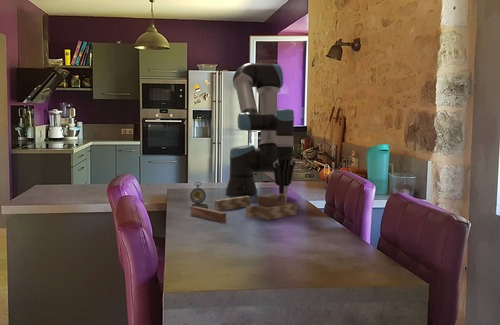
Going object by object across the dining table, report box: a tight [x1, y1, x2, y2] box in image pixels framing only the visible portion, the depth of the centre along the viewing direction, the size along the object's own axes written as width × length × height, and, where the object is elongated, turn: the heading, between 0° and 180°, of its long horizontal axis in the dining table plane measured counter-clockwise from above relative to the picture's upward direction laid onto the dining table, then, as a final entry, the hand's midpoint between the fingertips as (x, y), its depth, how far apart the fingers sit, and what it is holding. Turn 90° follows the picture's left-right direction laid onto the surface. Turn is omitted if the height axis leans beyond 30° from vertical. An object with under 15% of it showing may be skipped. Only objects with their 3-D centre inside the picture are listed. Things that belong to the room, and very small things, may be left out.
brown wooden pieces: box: [190, 196, 298, 223], centre depth 209 cm, size 32×27×4 cm
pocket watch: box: [189, 181, 209, 209], centre depth 223 cm, size 8×8×10 cm
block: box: [258, 193, 286, 208], centre depth 226 cm, size 8×8×5 cm
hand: (282, 200), depth 231 cm, fingers closed
